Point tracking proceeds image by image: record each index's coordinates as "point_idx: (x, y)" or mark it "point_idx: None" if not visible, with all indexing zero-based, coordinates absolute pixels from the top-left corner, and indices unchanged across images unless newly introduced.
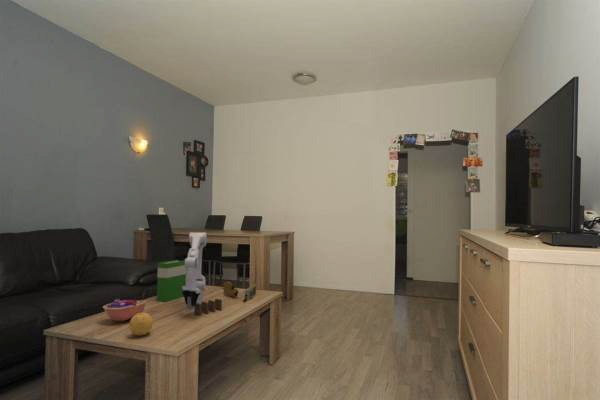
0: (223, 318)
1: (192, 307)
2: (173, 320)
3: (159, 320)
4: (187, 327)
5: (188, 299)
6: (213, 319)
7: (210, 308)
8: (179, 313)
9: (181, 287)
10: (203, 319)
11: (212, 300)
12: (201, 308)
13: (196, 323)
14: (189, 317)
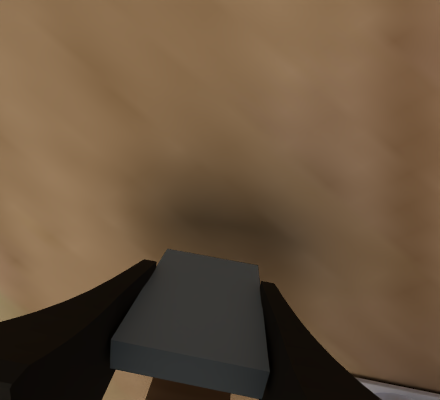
0: (18, 302)
1: (160, 260)
2: (248, 90)
3: (363, 10)
4: (3, 28)
5: (232, 330)
6: (42, 261)
7: None
8: (358, 249)
9: None
10: (88, 231)
11: None
12: None
13: (43, 140)
14: (206, 215)
